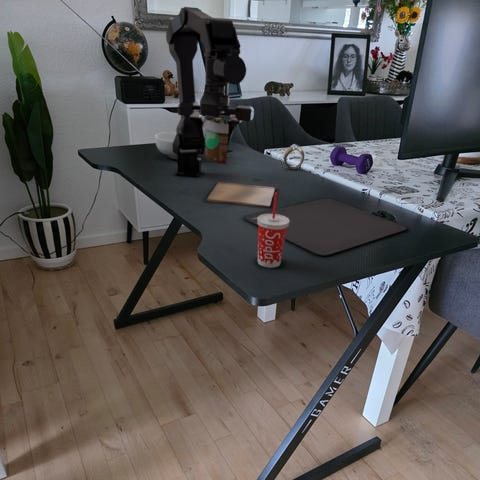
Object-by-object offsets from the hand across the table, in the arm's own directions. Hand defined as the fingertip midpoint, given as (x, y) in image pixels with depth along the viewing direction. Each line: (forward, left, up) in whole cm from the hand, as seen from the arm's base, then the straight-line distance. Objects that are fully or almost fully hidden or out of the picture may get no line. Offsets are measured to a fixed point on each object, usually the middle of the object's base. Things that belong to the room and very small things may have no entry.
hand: (215, 146), depth 119 cm
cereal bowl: (-20, +37, -13) cm, 44 cm away
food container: (0, 0, -3) cm, 3 cm away
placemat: (+8, +1, -13) cm, 15 cm away
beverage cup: (+19, -41, -13) cm, 47 cm away
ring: (+20, +35, -13) cm, 43 cm away
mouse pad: (+31, -15, -13) cm, 37 cm away
